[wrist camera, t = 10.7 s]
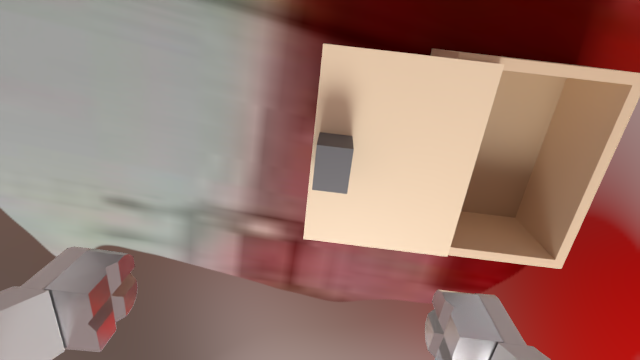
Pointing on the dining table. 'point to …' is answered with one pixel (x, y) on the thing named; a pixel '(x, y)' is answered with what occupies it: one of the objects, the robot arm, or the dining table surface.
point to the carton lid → (395, 147)
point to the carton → (540, 158)
